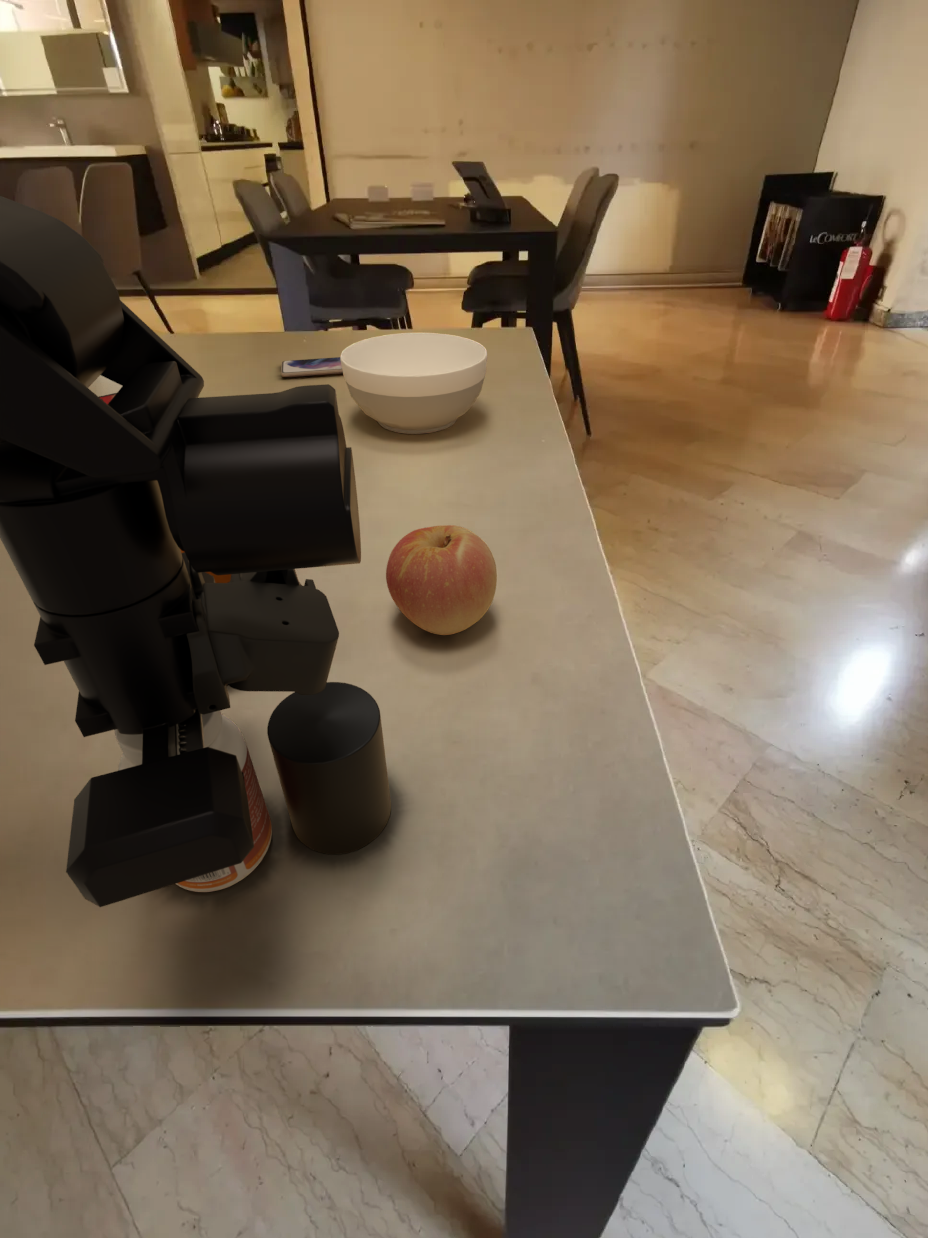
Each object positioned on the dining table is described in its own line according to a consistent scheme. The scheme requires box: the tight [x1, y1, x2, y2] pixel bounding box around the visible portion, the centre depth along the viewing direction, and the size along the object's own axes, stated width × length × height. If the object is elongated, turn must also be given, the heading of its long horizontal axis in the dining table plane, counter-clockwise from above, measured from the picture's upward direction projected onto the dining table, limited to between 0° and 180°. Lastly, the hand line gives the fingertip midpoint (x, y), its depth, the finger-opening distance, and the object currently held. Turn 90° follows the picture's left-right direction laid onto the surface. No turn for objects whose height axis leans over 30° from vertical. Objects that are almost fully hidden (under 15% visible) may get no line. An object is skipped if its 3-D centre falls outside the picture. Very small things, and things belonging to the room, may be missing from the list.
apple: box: [385, 524, 498, 636], centre depth 53 cm, size 9×9×8 cm
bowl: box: [339, 332, 488, 435], centre depth 88 cm, size 19×19×9 cm
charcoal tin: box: [266, 681, 392, 855], centre depth 38 cm, size 6×6×8 cm
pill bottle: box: [114, 710, 273, 893], centre depth 35 cm, size 6×6×11 cm
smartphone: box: [280, 356, 343, 378], centre depth 107 cm, size 7×1×15 cm
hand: (207, 809), depth 37 cm, fingers closed on pill bottle, 7 cm apart
